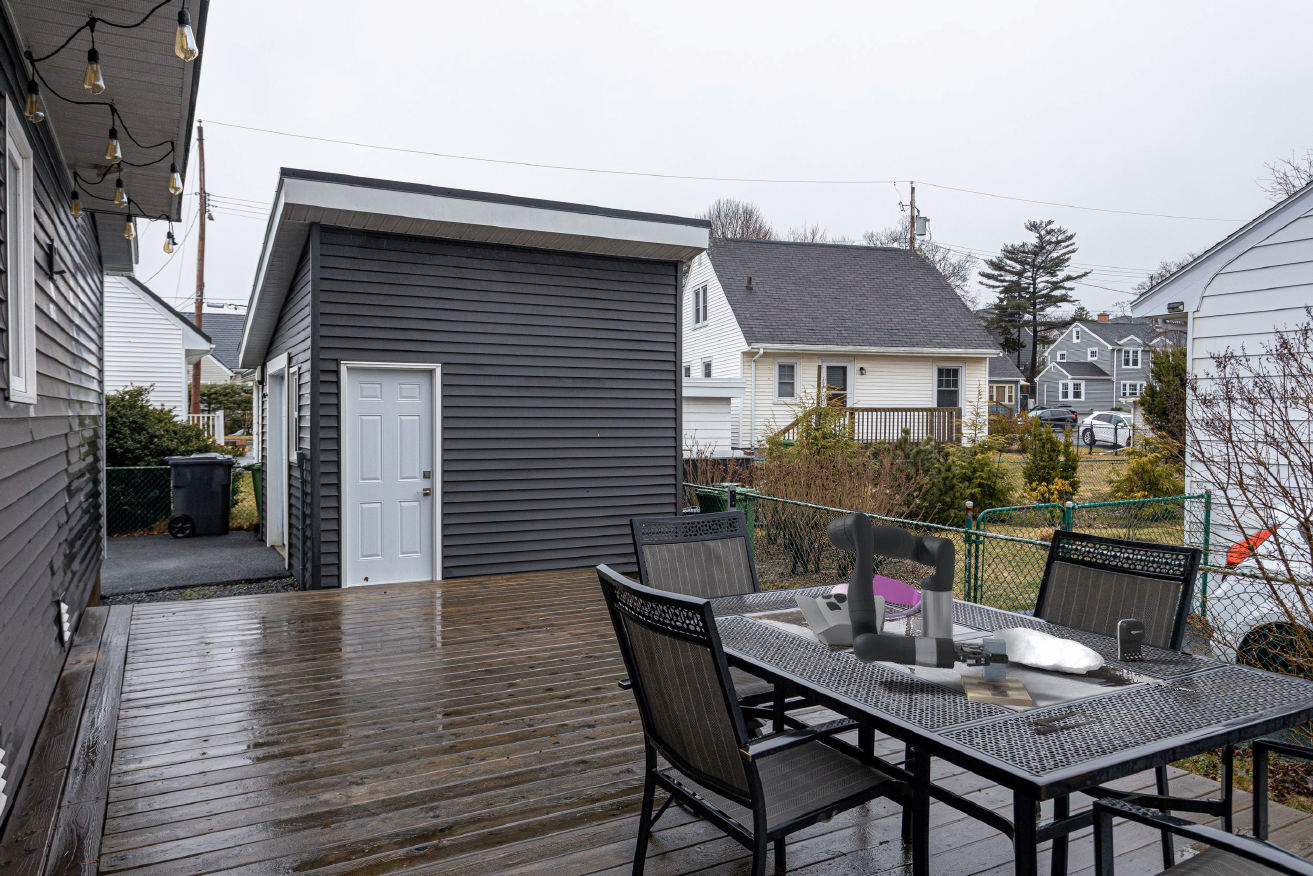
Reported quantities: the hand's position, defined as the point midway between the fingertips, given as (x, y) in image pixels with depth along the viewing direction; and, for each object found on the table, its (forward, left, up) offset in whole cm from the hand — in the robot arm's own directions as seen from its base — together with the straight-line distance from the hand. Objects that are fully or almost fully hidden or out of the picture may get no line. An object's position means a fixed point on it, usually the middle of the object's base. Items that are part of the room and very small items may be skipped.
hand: (1006, 657), depth 201 cm
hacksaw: (+17, +8, -10) cm, 21 cm away
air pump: (-88, -30, -10) cm, 93 cm away
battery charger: (-39, +39, -9) cm, 56 cm away
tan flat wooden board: (0, -3, -9) cm, 9 cm away
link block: (0, -3, -6) cm, 7 cm away
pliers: (-12, +39, -10) cm, 42 cm away
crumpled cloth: (-28, +15, -9) cm, 33 cm away
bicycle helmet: (-44, -42, -9) cm, 61 cm away
